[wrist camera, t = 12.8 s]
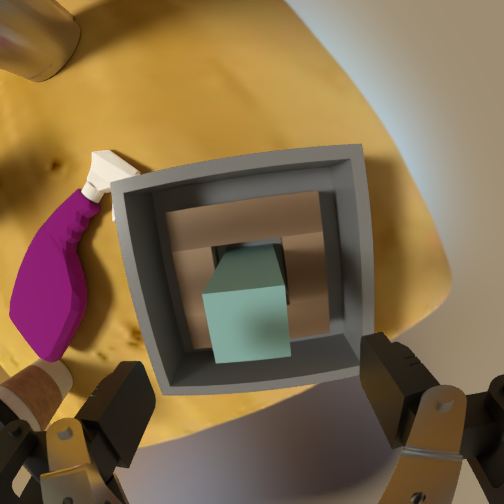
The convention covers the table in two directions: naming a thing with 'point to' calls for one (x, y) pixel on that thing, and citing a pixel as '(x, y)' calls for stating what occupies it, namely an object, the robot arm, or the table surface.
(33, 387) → the coffee cup
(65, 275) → the spray bottle
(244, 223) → the plate
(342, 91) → the table surface
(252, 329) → the peg
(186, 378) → the crate
